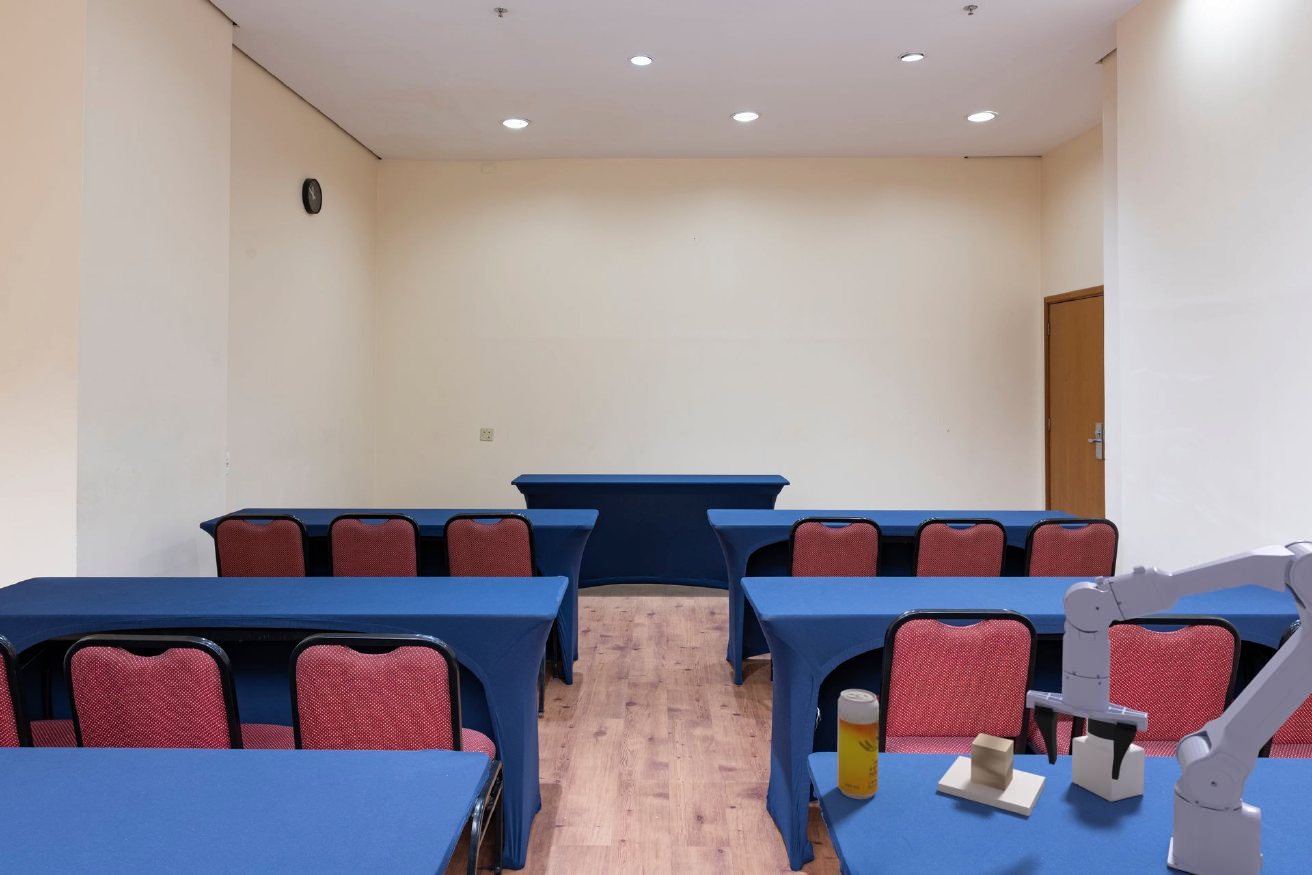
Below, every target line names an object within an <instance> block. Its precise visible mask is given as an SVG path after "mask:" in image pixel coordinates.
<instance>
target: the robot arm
mask: <svg viewBox="0 0 1312 875" xmlns="http://www.w3.org/2000/svg"><path fill="white" fill-rule="evenodd" d="M1132 570H1133V571H1130V572H1126V573H1123V574H1119V575H1115V576H1111V577H1108V578H1104V576H1103V575H1101V576H1095V578H1094V581H1095V582H1090V581H1080V582H1076V583H1073V584H1072V585H1071V586H1070V587H1069V588H1068V589H1067V590H1066V591H1065V595H1064V598H1063V599H1062V601H1063V611H1064V616H1065V621H1064V624H1063V625H1064V626H1063V627H1064V632H1065V633H1064V634H1063V637H1062V640H1063V641H1062V676H1061V677H1062V678H1061V681H1062V683H1061V684H1062V685H1061V686H1062V687H1061V693H1058V692H1057V693H1055V692H1044V691H1037V690H1031V689H1030V690H1028V691H1027V692H1026V697H1025V698H1026V702H1025V703H1026V706H1025V707H1026V708H1029V709H1032V710H1033V709H1034V713H1033V714H1032V716H1033V720H1034V722H1035V725H1036V726H1037V728H1038V730H1039V732H1040V734H1041V737H1042V739H1043V743H1044V745H1045V746H1044V747H1045V750H1046V753H1047V760H1048V764H1049V765H1053V766H1054V765H1055V764H1056V763H1057V761H1058V740H1057V738H1058V736H1057V733H1058V720H1059V718H1058V716H1059V714H1060V713H1061V714H1066V715H1070V716H1074V717H1080V718H1084V719H1087V718H1089V719H1094V720H1099V721H1104V722H1109V723H1114V724H1116V726H1115V728H1114V731H1113V745H1114V757H1113V766H1112V779H1115V780H1118V778H1119V774H1120V767H1121V763H1122V760H1123V758H1124V756H1125V754H1126V752H1127V750H1128V748H1129V746H1130V745H1131V743H1132V744H1133V742H1134V740H1135V738H1136V736H1137V733H1138V732H1139V731H1140V732H1144V733H1146V732H1147V730H1148V721H1149V720H1148V716H1149V715H1148V714H1149V713H1148V712H1143V711H1139V710H1135V709H1132V708H1129V707H1125V706H1122V705H1118V704H1116V703H1112V702H1110V692H1111V691H1110V687H1111V685H1110V684H1111V683H1110V682H1111V678H1110V677H1111V675H1110V674H1111V644H1112V643H1111V640H1110V638H1109V633H1110V632H1109V630H1110V629H1109V628H1110V627H1109V626H1110V625H1111V624H1112V622H1113V621H1119V622H1121V621H1126V620H1130V619H1131V620H1132V619H1135V618H1140V617H1145V616H1148V615H1153V614H1158V613H1162V612H1166V611H1171V610H1173V609H1174V608H1175V606H1176V604H1177V602H1178V601H1179V599H1180V598H1183V597H1189V596H1194V595H1199V594H1200V595H1201V594H1205V593H1206V594H1207V593H1210V592H1211V593H1212V592H1215V591H1220V590H1221V591H1222V590H1224V589H1225V590H1226V589H1231V588H1237V587H1238V588H1239V587H1243V586H1249V585H1254V586H1257V587H1258V586H1259V587H1263V588H1266V589H1269V590H1272V591H1276V592H1280V593H1286V589H1287V590H1288V591H1289V593H1290V594H1291V596H1292V597H1293V601H1294V604H1295V607H1296V610H1297V613H1298V615H1299V620H1300V622H1301V623H1300V626H1299V627H1298V628H1297V629H1296V630H1295V632H1294V633H1293V634H1292V635H1291V636H1290V637H1289V638H1288V639H1287V641H1285V643H1284V644H1283V645H1282V646H1281V647H1280V649H1278V651H1277V652H1276V653H1275V654H1274V655H1273V656H1272V658H1270V660H1269V661H1268V662H1267V663H1266V664H1265V666H1263V668H1261V670H1260V671H1258V672H1259V673H1257V675H1256V676H1255V677H1254V678H1253V679H1252V680H1251V681H1250V682H1249V684H1247V686H1246V687H1245V688H1243V690H1242V692H1241V693H1239V695H1238V696H1237V697H1236V699H1235V700H1234V701H1233V702H1232V703H1231V704H1230V705H1229V706H1228V707H1227V708H1226V710H1225V711H1224V712H1223V713H1222V714H1221V716H1220V717H1217V718H1216V719H1215V718H1214V719H1212V720H1209V721H1208V722H1206V723H1205V724H1204V725H1203V726H1202V728H1200V729H1199V730H1197V731H1194V732H1192V733H1190V734H1189V733H1188V734H1187V735H1184V736H1182V738H1180V740H1179V741H1178V742H1177V744H1176V748H1175V757H1176V760H1177V762H1178V765H1179V766H1180V770H1181V776H1180V778H1178V780H1177V781H1175V783H1174V789H1173V794H1174V795H1173V819H1172V821H1173V825H1172V826H1173V827H1172V837H1170V841H1169V847H1168V854H1167V861H1166V865H1167V866H1168V867H1170V868H1173V869H1176V870H1181V871H1184V872H1188V873H1190V874H1194V875H1260V871H1261V870H1263V868H1264V867H1263V866H1264V854H1263V853H1261V849H1262V848H1261V846H1262V845H1261V843H1262V810H1261V808H1259V807H1257V806H1254V805H1252V804H1249V803H1246V802H1244V801H1243V799H1242V798H1243V796H1244V792H1245V786H1246V781H1247V779H1248V778H1249V776H1251V774H1252V773H1253V772H1254V770H1255V768H1256V764H1257V759H1258V757H1259V752H1260V750H1262V748H1263V747H1264V746H1265V745H1266V744H1267V742H1269V740H1270V739H1271V738H1272V737H1273V736H1274V735H1275V733H1277V732H1278V731H1279V729H1280V728H1281V727H1282V726H1283V725H1284V724H1285V723H1286V722H1287V720H1289V718H1290V717H1291V716H1292V715H1293V714H1294V713H1295V712H1296V710H1298V708H1300V706H1301V705H1302V704H1303V703H1304V702H1305V701H1306V700H1307V698H1309V697H1310V695H1311V694H1312V541H1310V540H1295V541H1292V542H1289V543H1287V544H1285V545H1282V544H1274V545H1273V544H1272V545H1267V546H1263V547H1258V548H1255V549H1251V550H1247V551H1244V552H1240V553H1237V554H1233V555H1229V556H1226V557H1221V558H1219V559H1216V560H1213V561H1212V560H1211V561H1209V562H1204V563H1201V564H1198V565H1193V566H1190V567H1187V568H1183V569H1180V570H1176V571H1172V572H1167V571H1165V570H1162V569H1160V568H1158V567H1155V566H1152V567H1148V568H1145V566H1144V565H1143V564H1139V565H1134V566H1133V567H1132Z"/></svg>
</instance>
